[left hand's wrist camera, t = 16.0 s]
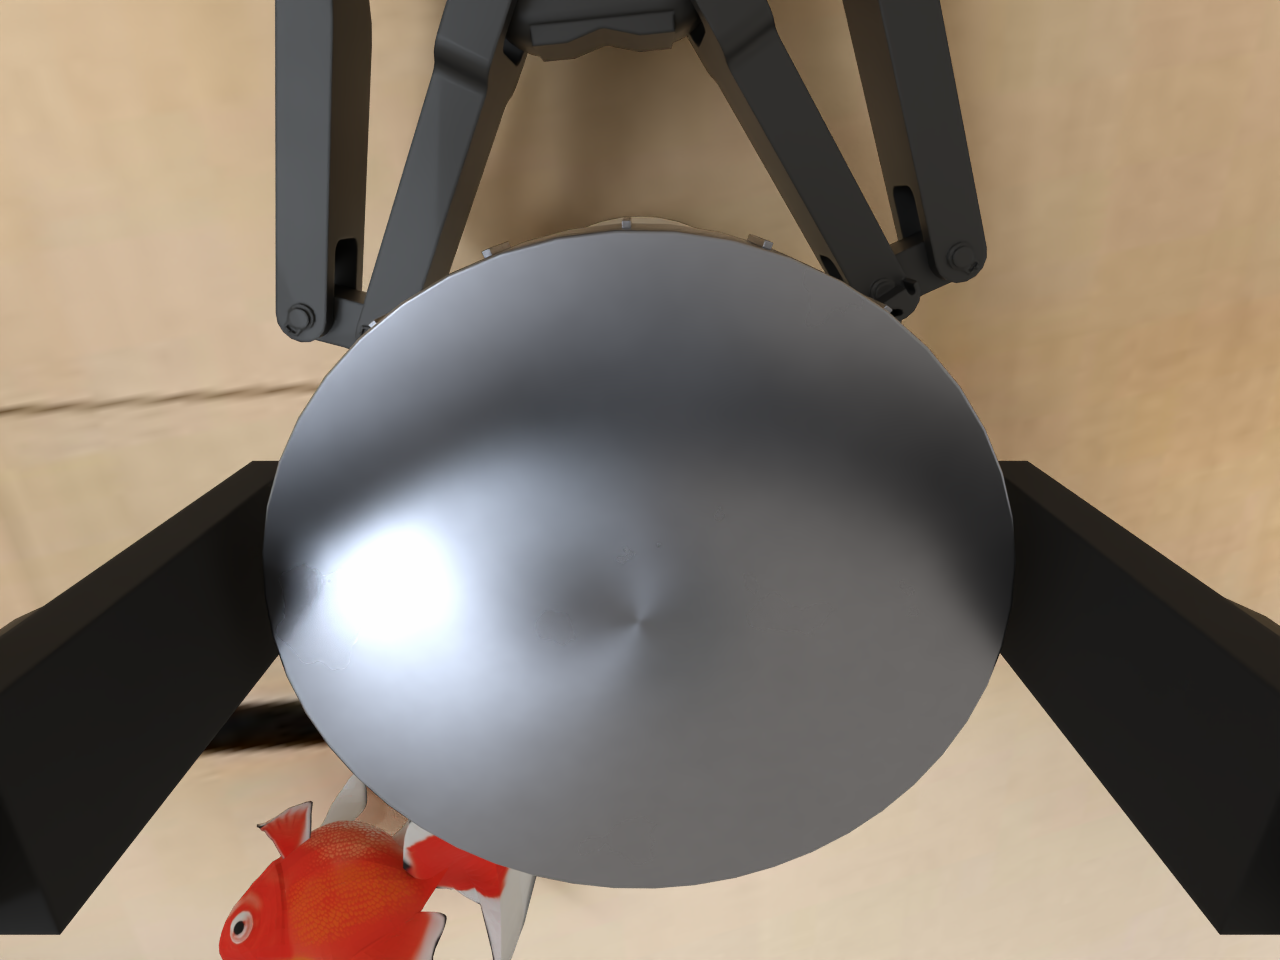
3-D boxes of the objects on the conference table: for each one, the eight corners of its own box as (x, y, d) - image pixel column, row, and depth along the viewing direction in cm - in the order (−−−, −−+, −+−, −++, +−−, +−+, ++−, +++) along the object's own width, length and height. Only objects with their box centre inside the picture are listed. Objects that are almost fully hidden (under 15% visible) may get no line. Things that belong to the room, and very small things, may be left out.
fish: (160, 728, 25) (148, 1060, 19) (580, 617, 31) (683, 838, 25) (230, 858, 32) (240, 1134, 26) (564, 746, 38) (641, 946, 32)
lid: (513, 868, 15) (495, 964, 13) (177, 410, 11) (87, 453, 9) (1031, 683, 13) (1095, 763, 11) (829, 76, 9) (874, 48, 8)
